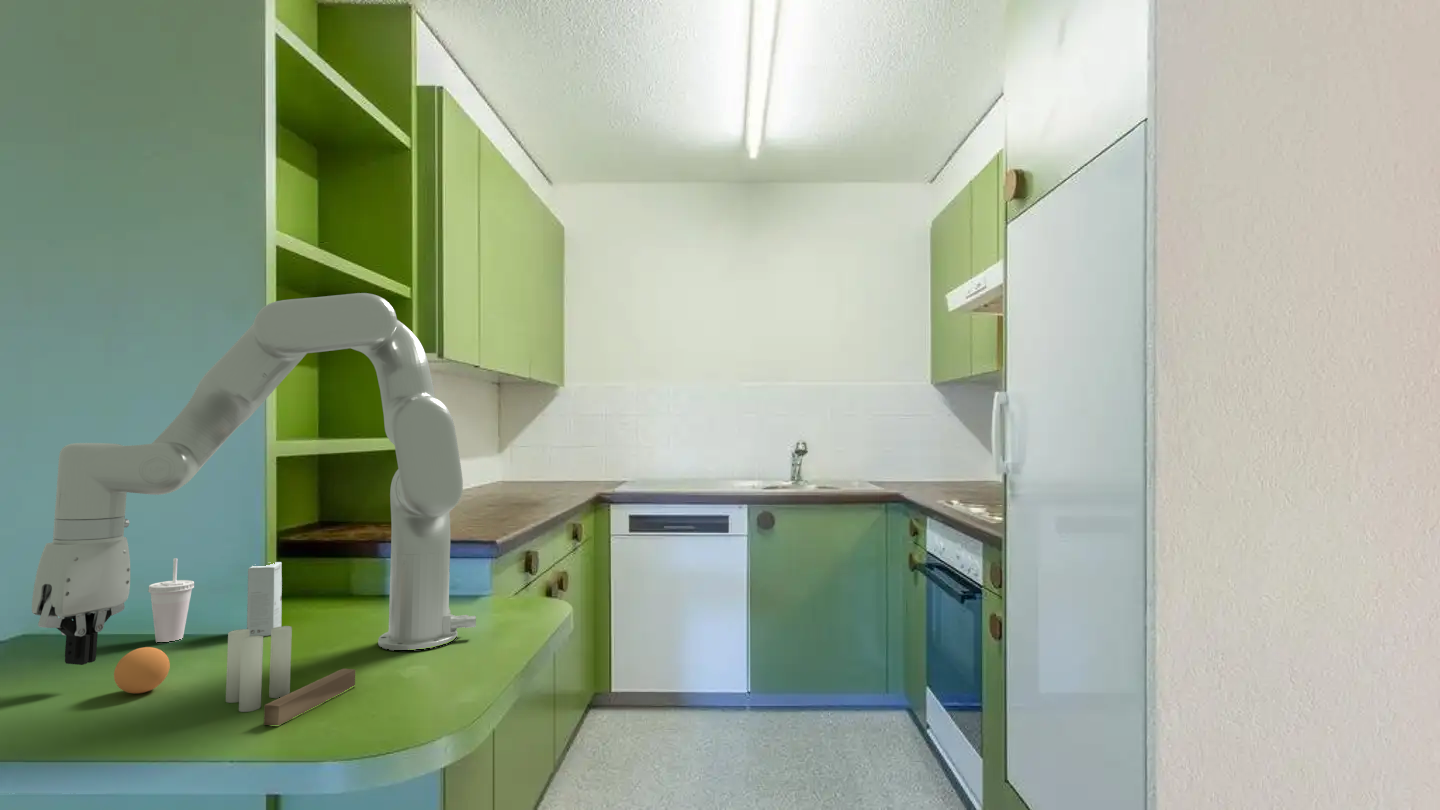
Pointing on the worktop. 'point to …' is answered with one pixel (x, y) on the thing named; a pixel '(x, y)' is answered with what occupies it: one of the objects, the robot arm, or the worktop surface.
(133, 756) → the worktop surface
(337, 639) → the worktop surface
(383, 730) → the worktop surface
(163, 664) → the brown egg
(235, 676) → the pin front
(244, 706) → the pin left
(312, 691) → the brown wooden bar
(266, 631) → the skincare box
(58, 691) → the worktop surface
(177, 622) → the smoothie
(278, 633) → the pin right
